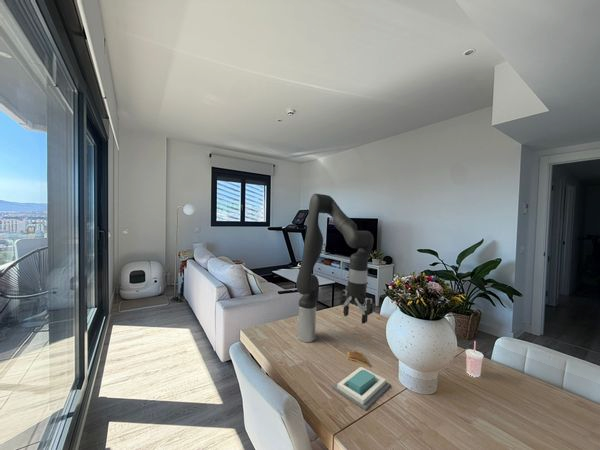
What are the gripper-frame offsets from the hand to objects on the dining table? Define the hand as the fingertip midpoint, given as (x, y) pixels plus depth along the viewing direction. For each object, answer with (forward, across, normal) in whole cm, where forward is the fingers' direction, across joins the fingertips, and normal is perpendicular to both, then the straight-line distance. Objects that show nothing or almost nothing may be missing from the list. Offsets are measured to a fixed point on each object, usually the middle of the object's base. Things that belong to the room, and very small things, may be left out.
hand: (354, 319), depth 101 cm
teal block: (+22, -8, +4) cm, 24 cm away
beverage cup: (+21, -34, -38) cm, 56 cm away
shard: (+23, +3, -12) cm, 26 cm away
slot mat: (+22, -8, +4) cm, 24 cm away
